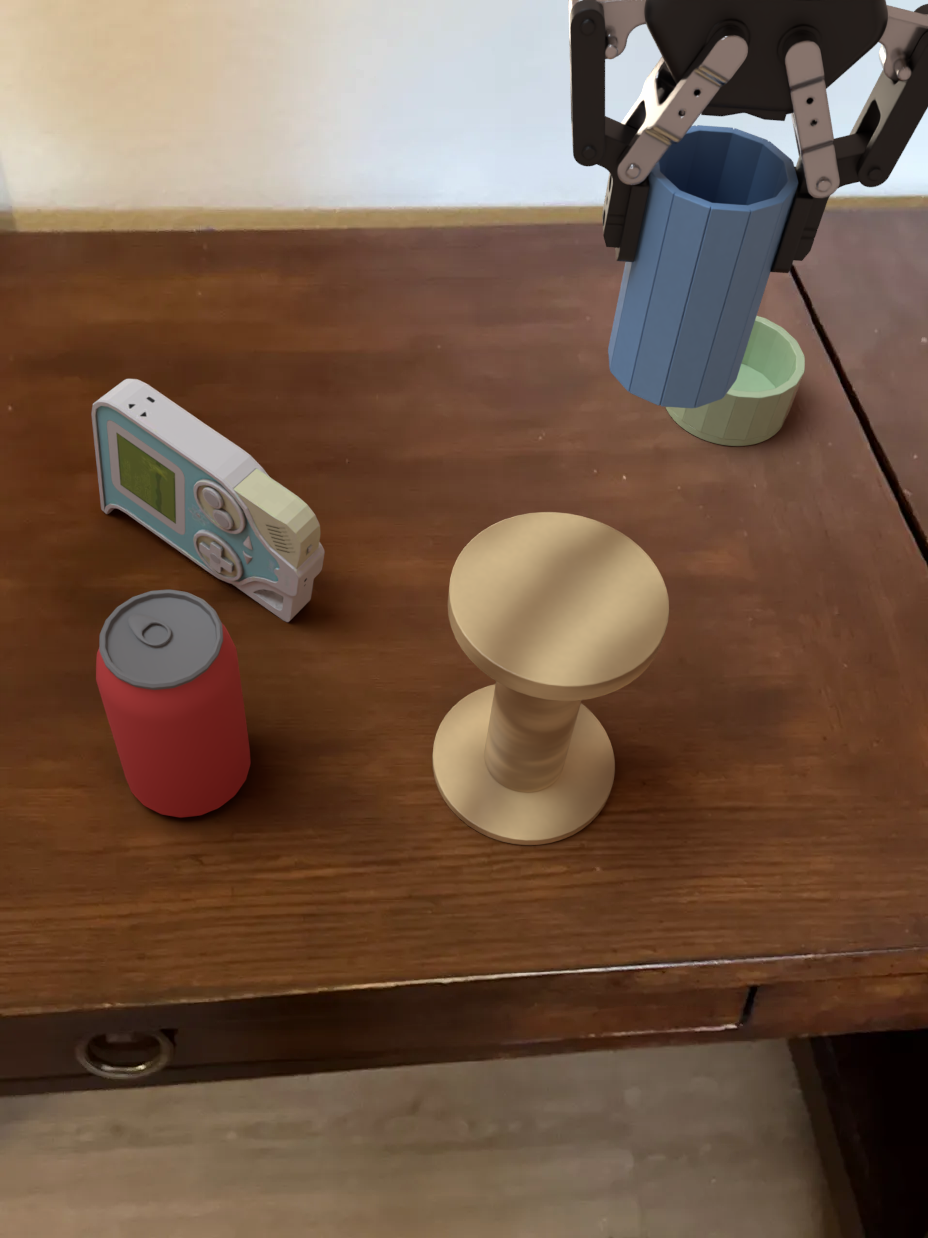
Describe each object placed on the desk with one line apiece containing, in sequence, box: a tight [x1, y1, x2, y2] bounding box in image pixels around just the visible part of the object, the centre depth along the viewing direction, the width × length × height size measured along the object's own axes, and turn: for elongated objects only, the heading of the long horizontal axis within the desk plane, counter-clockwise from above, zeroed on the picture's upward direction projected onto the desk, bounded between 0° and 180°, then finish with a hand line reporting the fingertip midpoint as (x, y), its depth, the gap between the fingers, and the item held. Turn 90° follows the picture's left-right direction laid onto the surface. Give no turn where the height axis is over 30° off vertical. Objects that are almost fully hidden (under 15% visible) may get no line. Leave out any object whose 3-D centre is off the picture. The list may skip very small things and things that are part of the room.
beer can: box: [95, 589, 252, 819], centre depth 60 cm, size 7×7×12 cm
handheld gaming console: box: [91, 378, 326, 623], centre depth 70 cm, size 11×3×15 cm
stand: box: [431, 511, 670, 846], centre depth 61 cm, size 10×10×15 cm
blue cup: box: [607, 124, 798, 408], centre depth 51 cm, size 6×6×10 cm
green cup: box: [665, 315, 806, 447], centre depth 84 cm, size 9×9×4 cm
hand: (700, 254), depth 51 cm, fingers closed on blue cup, 6 cm apart
